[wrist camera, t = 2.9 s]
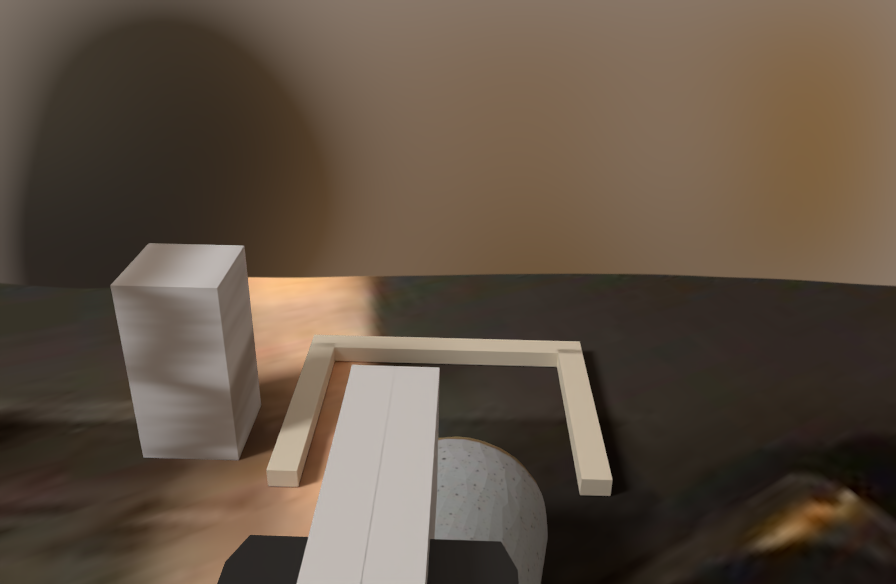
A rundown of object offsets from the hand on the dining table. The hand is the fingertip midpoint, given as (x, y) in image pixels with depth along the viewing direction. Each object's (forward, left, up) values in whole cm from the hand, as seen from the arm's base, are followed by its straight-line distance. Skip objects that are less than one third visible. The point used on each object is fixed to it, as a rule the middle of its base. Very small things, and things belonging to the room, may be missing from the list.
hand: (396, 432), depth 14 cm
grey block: (+13, -24, -18) cm, 33 cm away
